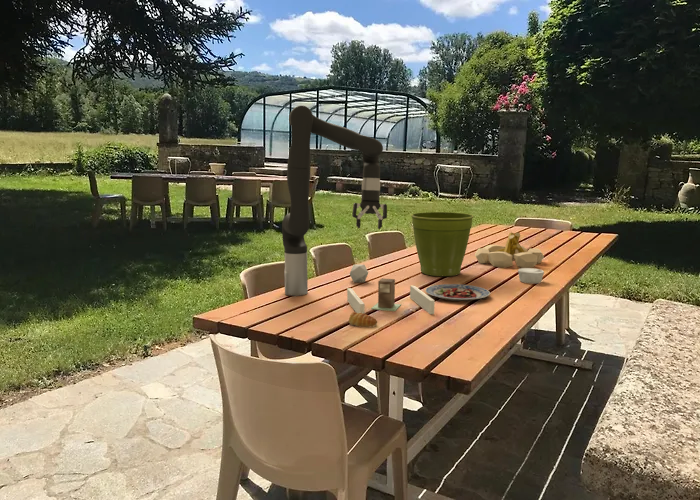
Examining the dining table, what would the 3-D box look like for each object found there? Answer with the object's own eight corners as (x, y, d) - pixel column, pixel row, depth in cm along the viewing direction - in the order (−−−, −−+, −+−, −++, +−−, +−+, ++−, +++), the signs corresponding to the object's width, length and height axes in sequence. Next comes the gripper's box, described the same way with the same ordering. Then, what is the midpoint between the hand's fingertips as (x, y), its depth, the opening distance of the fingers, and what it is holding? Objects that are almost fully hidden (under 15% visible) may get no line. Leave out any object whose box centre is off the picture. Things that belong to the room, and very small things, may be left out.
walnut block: (377, 307, 202) (378, 281, 200) (381, 304, 207) (382, 278, 205) (390, 308, 200) (391, 282, 199) (394, 305, 205) (394, 279, 204)
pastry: (380, 324, 183) (380, 313, 183) (371, 329, 178) (372, 318, 177) (355, 320, 188) (355, 309, 187) (346, 325, 182) (346, 314, 181)
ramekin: (545, 284, 242) (545, 273, 241) (518, 283, 244) (519, 272, 243) (541, 279, 252) (542, 268, 252) (516, 278, 255) (517, 267, 254)
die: (361, 286, 241) (373, 267, 243) (345, 276, 242) (356, 257, 244) (361, 288, 249) (372, 270, 251) (345, 278, 250) (356, 261, 252)
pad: (371, 309, 201) (371, 308, 201) (378, 303, 209) (378, 302, 209) (394, 311, 198) (394, 310, 198) (400, 305, 207) (400, 304, 206)
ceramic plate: (497, 293, 226) (497, 286, 226) (478, 307, 204) (478, 299, 204) (439, 286, 239) (439, 279, 239) (415, 298, 217) (415, 291, 217)
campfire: (533, 271, 271) (534, 237, 269) (467, 265, 289) (468, 233, 286) (548, 260, 301) (550, 230, 298) (487, 255, 318) (489, 226, 316)
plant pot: (417, 265, 285) (418, 211, 280) (474, 269, 275) (477, 213, 270) (403, 277, 257) (404, 216, 252) (467, 281, 247) (469, 218, 243)
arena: (360, 318, 190) (360, 304, 189) (347, 300, 213) (347, 288, 212) (434, 314, 195) (434, 300, 194) (413, 297, 218) (414, 285, 217)
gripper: (355, 188, 219) (353, 228, 221) (389, 190, 221) (387, 229, 223) (352, 188, 226) (350, 227, 228) (385, 189, 229) (383, 228, 230)
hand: (369, 228), depth 226 cm, fingers open, 8 cm apart
